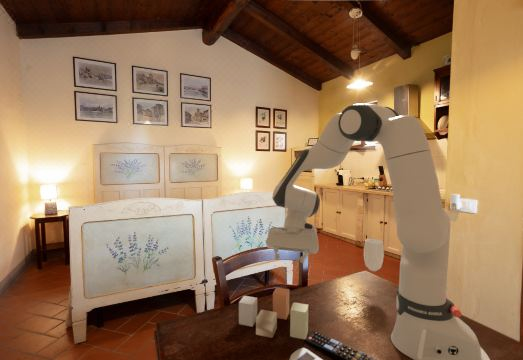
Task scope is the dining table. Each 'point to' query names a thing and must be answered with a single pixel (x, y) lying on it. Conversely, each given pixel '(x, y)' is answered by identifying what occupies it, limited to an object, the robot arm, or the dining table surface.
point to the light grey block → (247, 311)
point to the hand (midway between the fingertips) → (289, 260)
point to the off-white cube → (266, 323)
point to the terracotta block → (281, 302)
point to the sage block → (299, 320)
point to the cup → (373, 254)
